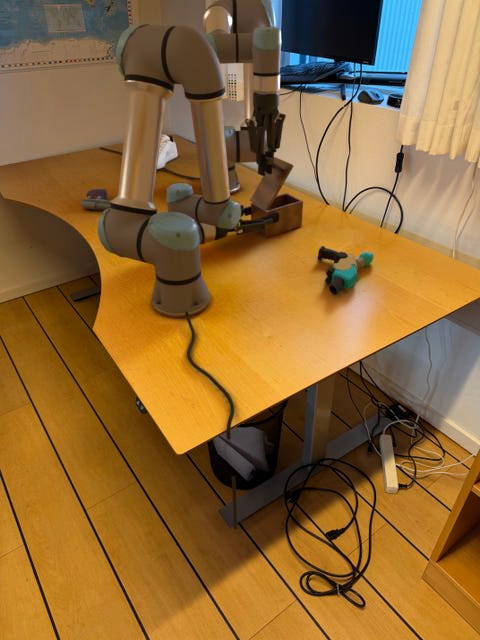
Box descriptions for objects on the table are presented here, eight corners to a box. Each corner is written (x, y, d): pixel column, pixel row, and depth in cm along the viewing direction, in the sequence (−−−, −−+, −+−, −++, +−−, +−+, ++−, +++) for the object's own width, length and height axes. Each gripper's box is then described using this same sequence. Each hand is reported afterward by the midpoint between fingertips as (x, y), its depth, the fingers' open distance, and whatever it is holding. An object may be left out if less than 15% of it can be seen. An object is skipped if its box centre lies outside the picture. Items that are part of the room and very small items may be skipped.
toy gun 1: (139, 199, 183) (123, 215, 172) (94, 196, 187) (76, 211, 175) (137, 189, 181) (122, 205, 169) (92, 186, 184) (73, 201, 172)
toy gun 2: (295, 275, 127) (350, 289, 121) (327, 237, 145) (376, 248, 140) (294, 289, 129) (348, 303, 124) (326, 250, 148) (374, 261, 142)
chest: (285, 217, 168) (286, 192, 163) (301, 226, 162) (303, 201, 157) (250, 228, 162) (250, 202, 157) (266, 237, 156) (266, 212, 150)
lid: (276, 158, 153) (259, 145, 147) (294, 165, 147) (276, 152, 141) (251, 201, 157) (234, 190, 150) (267, 210, 150) (249, 199, 144)
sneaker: (133, 173, 208) (129, 144, 201) (161, 153, 230) (158, 127, 223) (155, 175, 205) (151, 146, 198) (180, 155, 227) (178, 129, 220)
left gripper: (194, 227, 157) (251, 212, 167) (229, 253, 142) (289, 234, 152) (193, 206, 152) (251, 191, 162) (229, 230, 138) (290, 212, 147)
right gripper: (279, 86, 140) (276, 166, 154) (236, 92, 134) (238, 175, 147) (295, 90, 135) (291, 172, 149) (252, 97, 128) (252, 182, 142)
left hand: (269, 212), depth 157 cm, fingers closed on chest, 9 cm apart
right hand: (264, 173), depth 148 cm, fingers closed on lid, 2 cm apart
